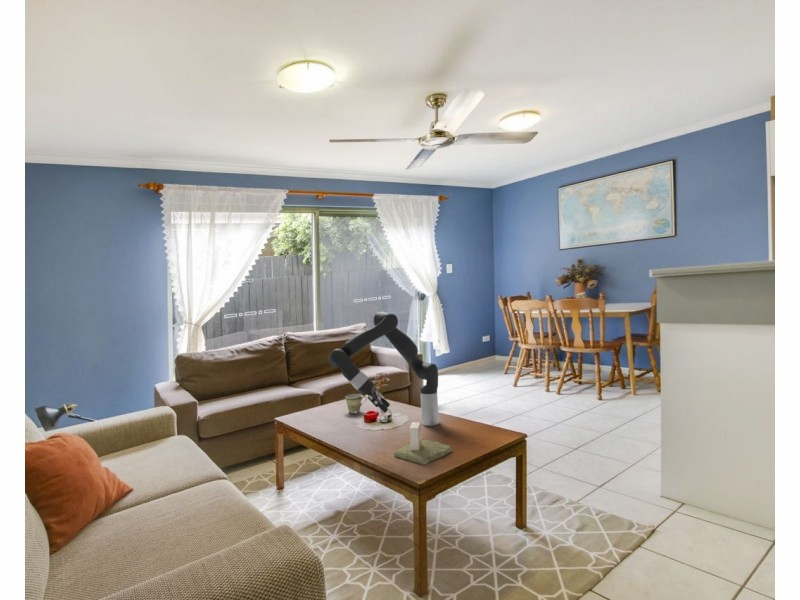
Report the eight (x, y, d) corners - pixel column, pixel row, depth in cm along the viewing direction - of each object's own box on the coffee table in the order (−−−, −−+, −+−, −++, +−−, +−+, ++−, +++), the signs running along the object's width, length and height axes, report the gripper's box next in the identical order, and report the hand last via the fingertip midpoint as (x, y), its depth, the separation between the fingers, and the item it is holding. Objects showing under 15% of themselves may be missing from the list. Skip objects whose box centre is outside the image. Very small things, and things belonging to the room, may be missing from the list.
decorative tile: (393, 457, 197) (393, 449, 197) (421, 444, 212) (421, 437, 212) (426, 467, 185) (425, 459, 185) (453, 452, 200) (453, 445, 200)
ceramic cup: (345, 414, 265) (344, 398, 265) (347, 410, 275) (346, 394, 275) (366, 413, 265) (366, 397, 265) (367, 409, 275) (367, 393, 275)
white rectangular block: (413, 443, 204) (412, 422, 204) (421, 443, 203) (420, 422, 203) (410, 450, 196) (409, 427, 196) (419, 450, 195) (418, 428, 195)
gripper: (365, 380, 193) (391, 406, 193) (370, 374, 208) (394, 399, 207) (353, 392, 194) (380, 418, 193) (359, 386, 208) (383, 410, 207)
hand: (387, 408), depth 200 cm, fingers open, 8 cm apart
